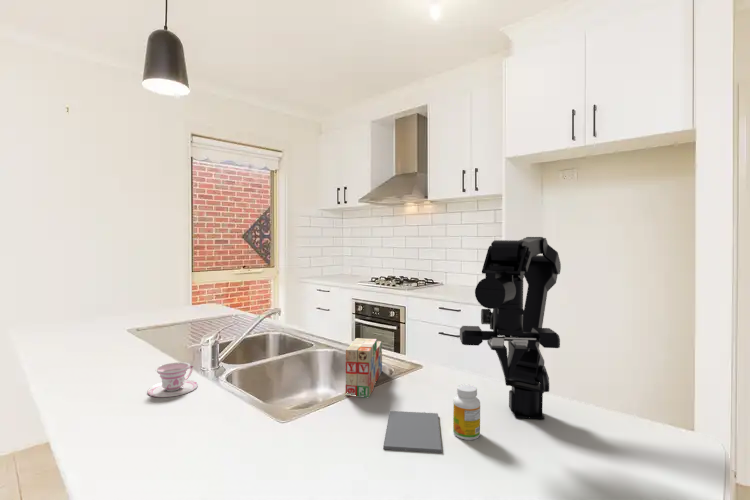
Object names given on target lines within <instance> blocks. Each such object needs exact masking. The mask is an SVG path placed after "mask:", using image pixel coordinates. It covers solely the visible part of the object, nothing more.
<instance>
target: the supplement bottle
mask: <svg viewBox="0 0 750 500" xmlns="http://www.w3.org/2000/svg"><path fill="white" fill-rule="evenodd" d="M477 396H478V388H477V387H476V386H474V385H471V384H465V383H463V384H460V385H458V386H457V387H456V395H455V396H454V399H453V417H452V418H453V419H452V420H453V421H452V422H453V427H452V430H453V435H454V436H455V437H457V438H458V439H461V440H465V441H473V440H477V439H478V438H479V437H480V434H481V401H480V399H479V398H478V397H477Z"/></svg>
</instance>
